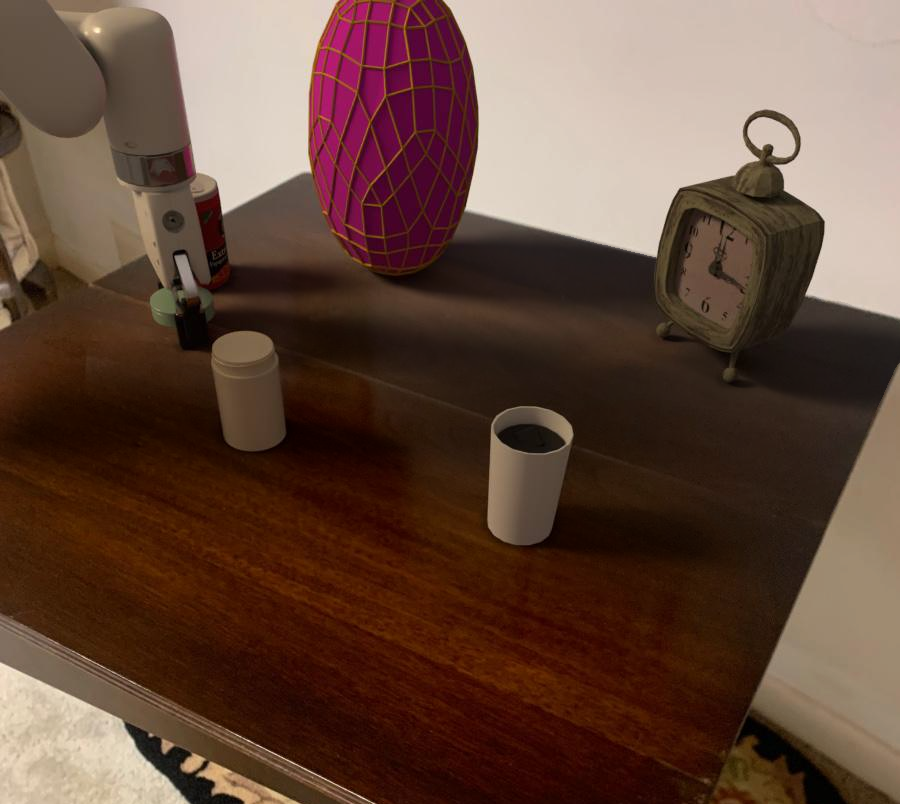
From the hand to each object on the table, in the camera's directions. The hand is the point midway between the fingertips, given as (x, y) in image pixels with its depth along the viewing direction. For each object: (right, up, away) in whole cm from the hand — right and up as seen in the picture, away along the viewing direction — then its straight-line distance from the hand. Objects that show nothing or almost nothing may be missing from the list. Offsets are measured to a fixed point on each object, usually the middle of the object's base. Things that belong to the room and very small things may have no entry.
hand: (186, 328), depth 99 cm
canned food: (-1, +9, +9) cm, 12 cm away
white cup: (+35, -24, -20) cm, 47 cm away
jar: (+10, -14, -13) cm, 22 cm away
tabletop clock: (+59, -3, +2) cm, 59 cm away
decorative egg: (+22, +12, +13) cm, 28 cm away
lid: (0, +2, -2) cm, 3 cm away
